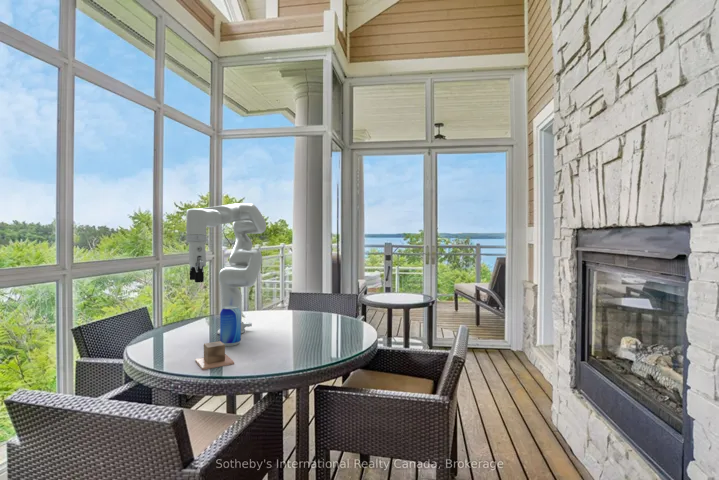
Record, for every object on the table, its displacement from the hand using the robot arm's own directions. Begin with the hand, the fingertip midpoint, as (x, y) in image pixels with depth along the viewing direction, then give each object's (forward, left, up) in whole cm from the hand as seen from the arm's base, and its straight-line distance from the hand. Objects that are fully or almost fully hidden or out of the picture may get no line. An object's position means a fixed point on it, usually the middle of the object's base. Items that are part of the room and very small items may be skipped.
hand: (196, 280), depth 155 cm
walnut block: (-2, +20, -28) cm, 34 cm away
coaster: (-2, +20, -28) cm, 35 cm away
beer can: (-14, -1, -28) cm, 32 cm away
